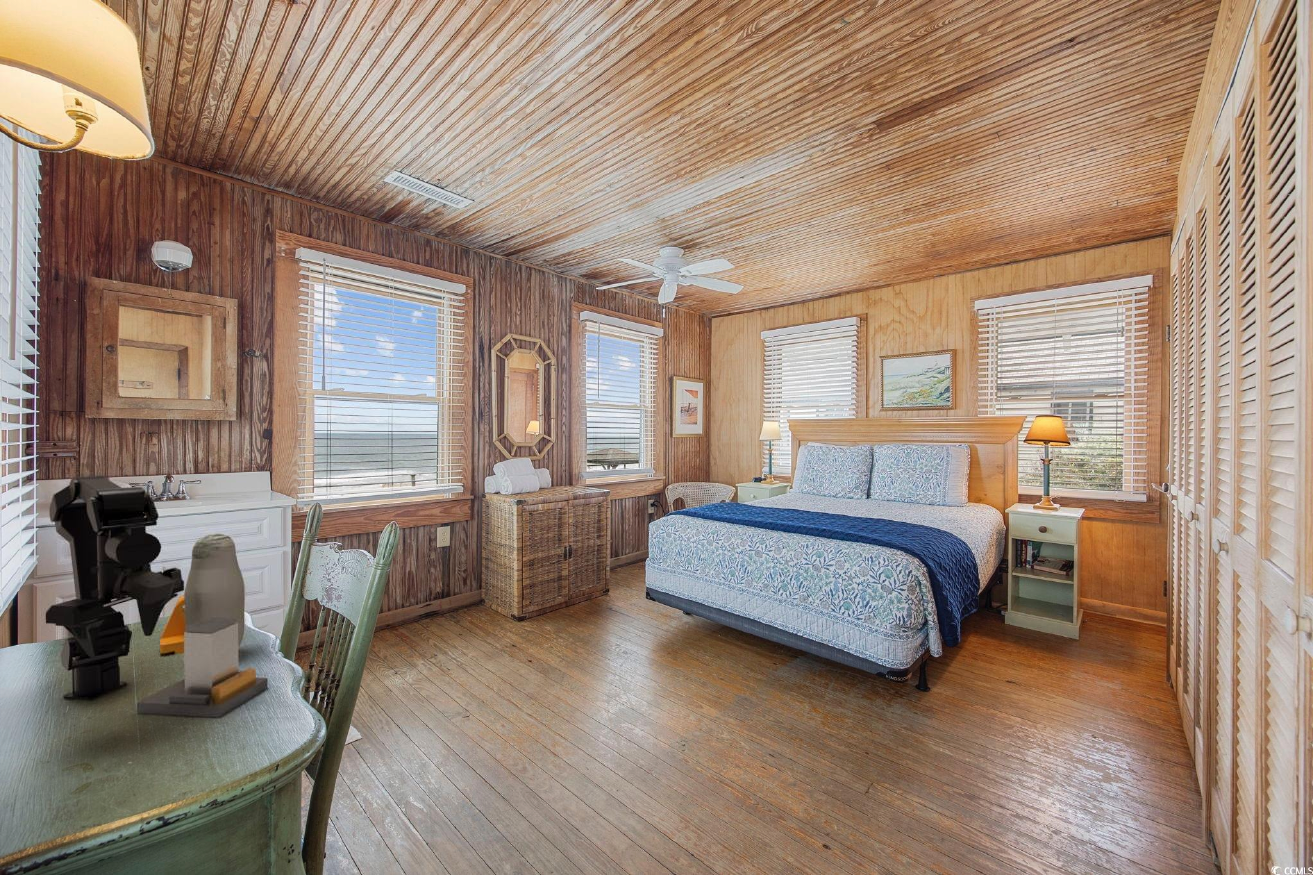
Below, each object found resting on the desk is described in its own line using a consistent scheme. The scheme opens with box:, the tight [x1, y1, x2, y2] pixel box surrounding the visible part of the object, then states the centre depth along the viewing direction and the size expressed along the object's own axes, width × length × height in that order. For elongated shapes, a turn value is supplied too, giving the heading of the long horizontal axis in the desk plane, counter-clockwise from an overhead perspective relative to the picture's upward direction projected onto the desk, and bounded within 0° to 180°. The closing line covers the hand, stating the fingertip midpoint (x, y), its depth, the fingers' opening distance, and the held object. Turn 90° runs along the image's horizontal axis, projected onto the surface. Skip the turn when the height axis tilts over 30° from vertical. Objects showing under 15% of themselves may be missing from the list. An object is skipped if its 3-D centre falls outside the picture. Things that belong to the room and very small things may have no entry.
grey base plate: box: [136, 668, 268, 718], centre depth 104 cm, size 16×11×4 cm
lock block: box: [183, 617, 240, 698], centre depth 103 cm, size 6×6×13 cm
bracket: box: [159, 594, 185, 655], centre depth 128 cm, size 11×7×12 cm, turn 130°
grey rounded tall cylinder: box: [183, 533, 246, 648], centre depth 121 cm, size 10×10×28 cm
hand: (122, 645), depth 97 cm, fingers open, 9 cm apart
